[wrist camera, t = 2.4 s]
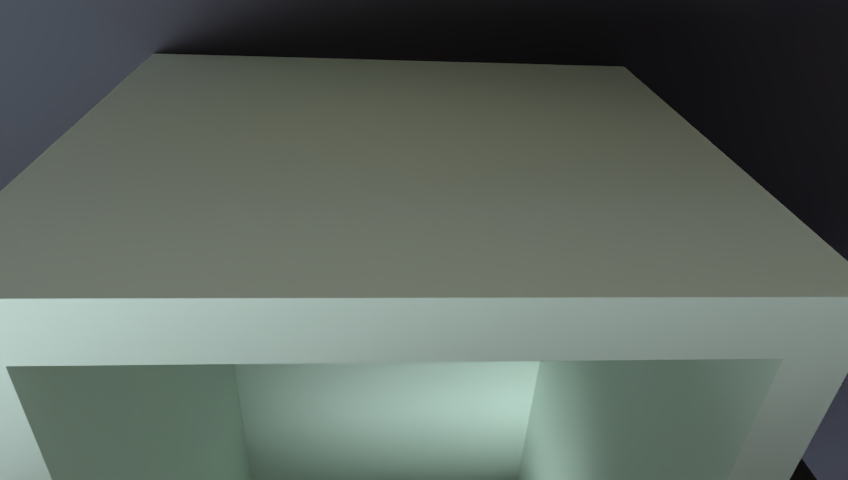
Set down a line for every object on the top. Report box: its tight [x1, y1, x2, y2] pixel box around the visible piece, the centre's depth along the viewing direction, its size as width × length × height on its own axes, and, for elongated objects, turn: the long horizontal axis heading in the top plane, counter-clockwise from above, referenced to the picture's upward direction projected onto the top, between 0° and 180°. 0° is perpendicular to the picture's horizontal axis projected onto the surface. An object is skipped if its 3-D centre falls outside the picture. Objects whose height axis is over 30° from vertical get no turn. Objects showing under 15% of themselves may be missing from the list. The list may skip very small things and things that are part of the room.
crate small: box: [0, 53, 848, 480], centre depth 10 cm, size 7×10×6 cm
